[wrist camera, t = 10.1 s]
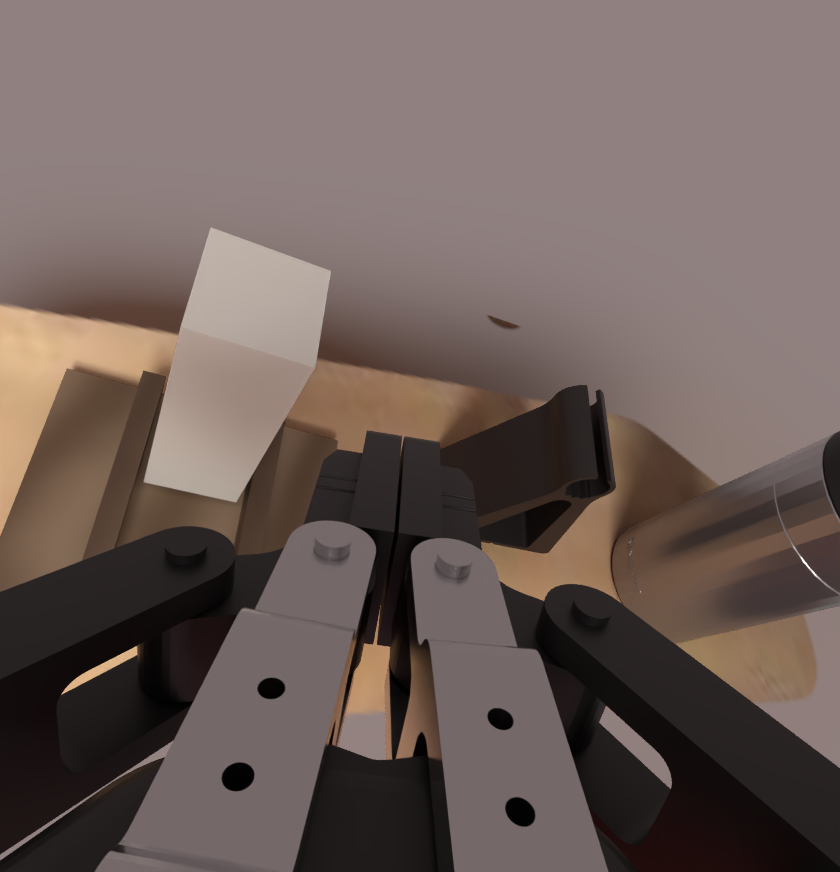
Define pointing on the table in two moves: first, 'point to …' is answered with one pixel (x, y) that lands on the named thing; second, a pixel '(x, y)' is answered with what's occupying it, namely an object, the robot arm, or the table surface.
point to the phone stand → (537, 470)
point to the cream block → (236, 365)
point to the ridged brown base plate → (138, 483)
